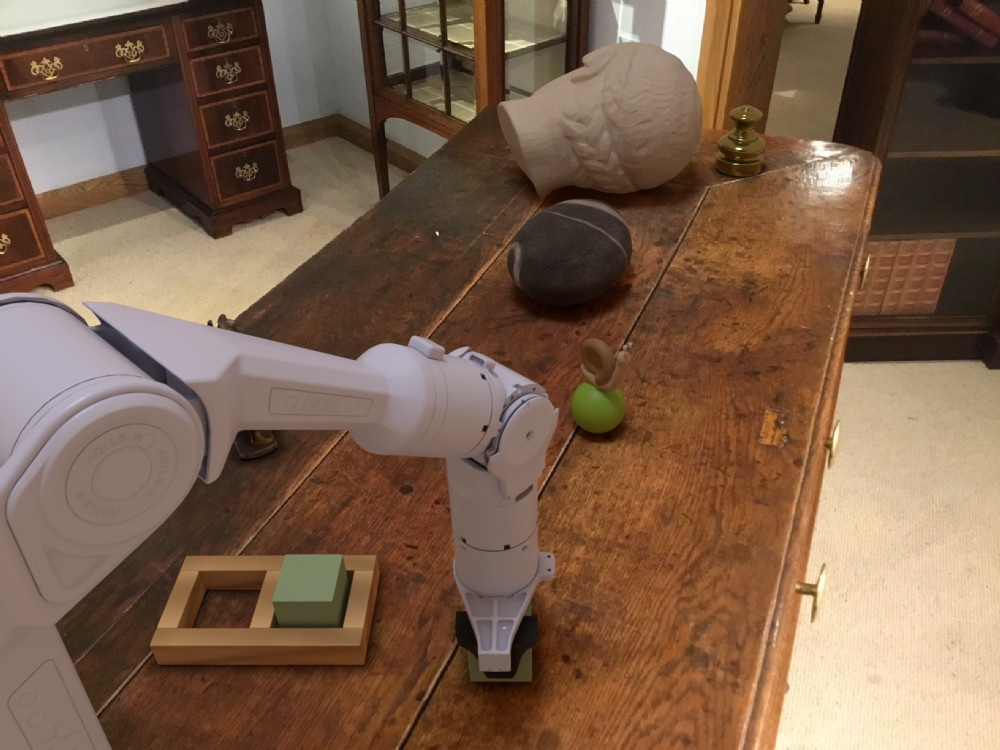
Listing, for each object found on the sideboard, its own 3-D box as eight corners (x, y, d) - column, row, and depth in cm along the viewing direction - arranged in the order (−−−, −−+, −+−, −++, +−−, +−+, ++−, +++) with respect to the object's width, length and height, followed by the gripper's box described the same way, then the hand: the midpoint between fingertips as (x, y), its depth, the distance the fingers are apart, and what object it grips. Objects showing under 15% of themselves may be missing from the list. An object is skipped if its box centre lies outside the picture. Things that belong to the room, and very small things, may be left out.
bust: (506, 163, 144) (685, 140, 142) (509, 233, 126) (714, 208, 123) (489, 39, 131) (685, 11, 129) (490, 97, 113) (718, 65, 111)
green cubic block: (341, 642, 67) (332, 601, 64) (283, 642, 67) (271, 601, 64) (351, 594, 70) (342, 554, 67) (296, 594, 71) (285, 554, 68)
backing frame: (364, 665, 65) (360, 645, 63) (158, 665, 66) (149, 645, 64) (380, 574, 72) (376, 554, 70) (193, 575, 73) (186, 555, 71)
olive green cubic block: (531, 682, 63) (531, 640, 60) (470, 682, 63) (466, 640, 60) (531, 630, 67) (530, 589, 64) (473, 630, 67) (469, 589, 64)
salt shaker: (772, 171, 135) (782, 108, 129) (736, 181, 132) (745, 118, 126) (740, 155, 140) (748, 95, 134) (704, 166, 137) (712, 104, 131)
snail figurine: (603, 457, 83) (608, 356, 76) (559, 425, 87) (560, 326, 80) (642, 433, 85) (651, 334, 78) (597, 403, 89) (602, 306, 82)
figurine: (284, 460, 84) (253, 333, 75) (246, 473, 83) (209, 346, 74) (264, 418, 89) (232, 295, 80) (227, 430, 88) (191, 307, 79)
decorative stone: (545, 242, 118) (545, 174, 112) (647, 259, 113) (652, 189, 108) (489, 312, 104) (486, 239, 98) (602, 335, 99) (606, 260, 93)
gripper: (558, 608, 50) (557, 734, 58) (552, 445, 62) (551, 569, 70) (439, 608, 51) (454, 734, 59) (455, 446, 62) (466, 569, 70)
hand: (501, 644), depth 64 cm, fingers closed on olive green cubic block, 4 cm apart
